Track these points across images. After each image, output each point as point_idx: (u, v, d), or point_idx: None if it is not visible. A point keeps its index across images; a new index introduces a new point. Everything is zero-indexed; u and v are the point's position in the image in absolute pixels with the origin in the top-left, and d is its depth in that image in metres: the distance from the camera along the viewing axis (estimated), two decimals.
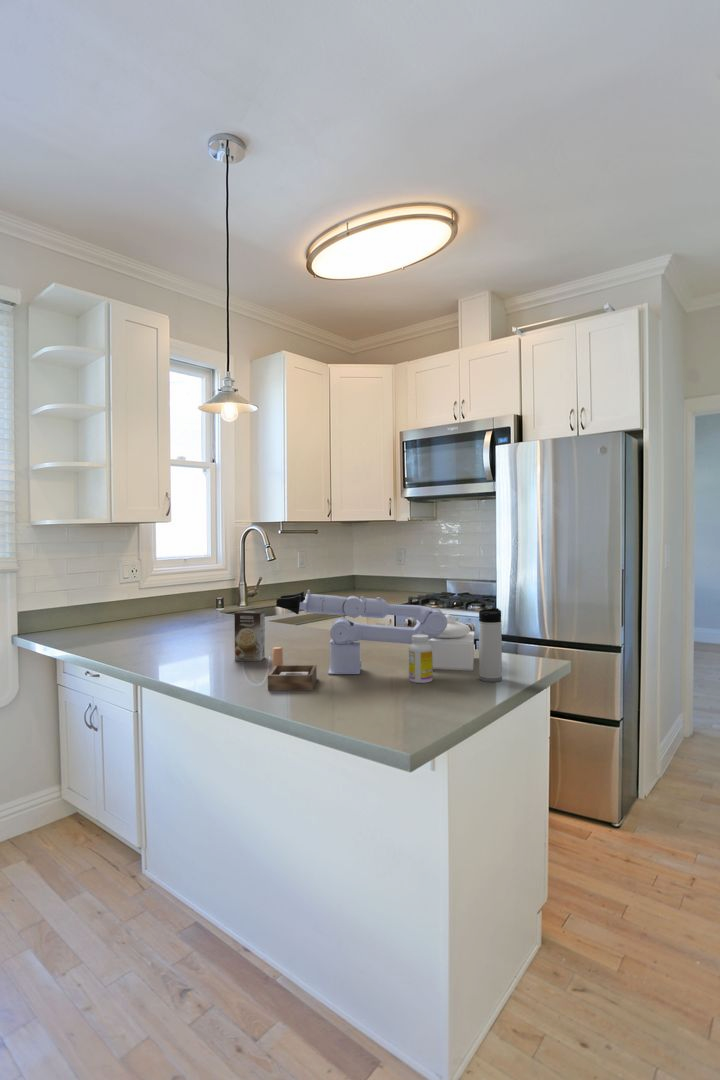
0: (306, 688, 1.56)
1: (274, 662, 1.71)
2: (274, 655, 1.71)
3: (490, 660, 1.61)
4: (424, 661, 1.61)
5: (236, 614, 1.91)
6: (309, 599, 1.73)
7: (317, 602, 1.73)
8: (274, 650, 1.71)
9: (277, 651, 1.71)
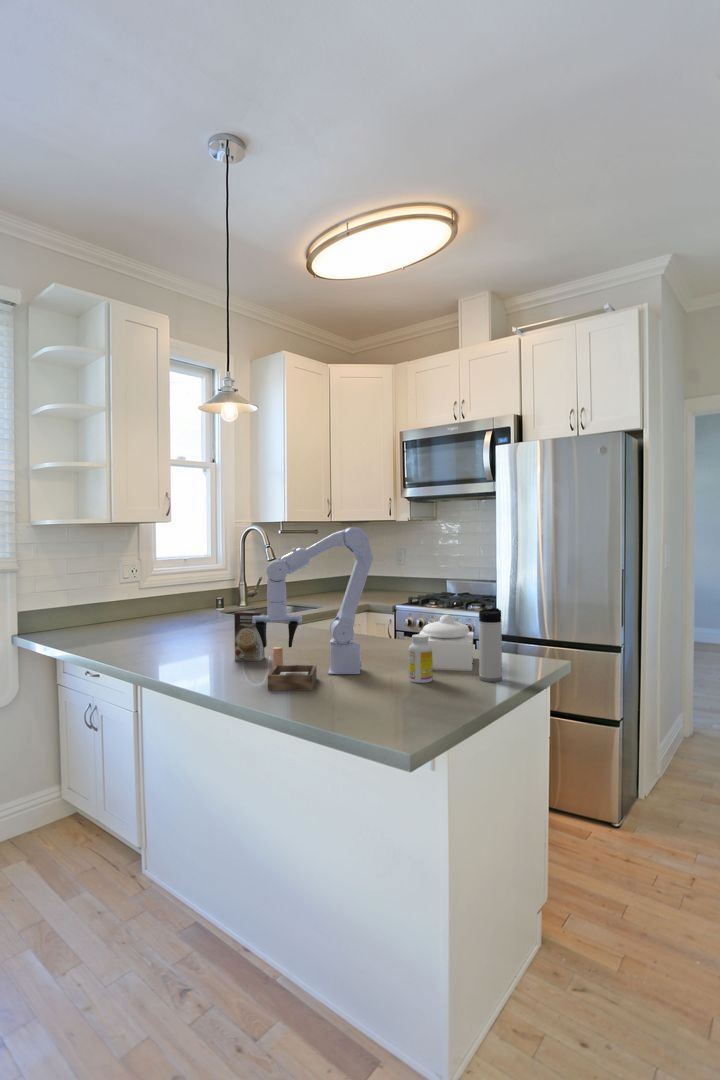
0: (306, 688, 1.56)
1: (274, 662, 1.71)
2: (274, 655, 1.71)
3: (490, 660, 1.61)
4: (424, 661, 1.61)
5: (236, 614, 1.91)
6: (284, 615, 1.71)
7: (285, 606, 1.71)
8: (274, 650, 1.71)
9: (277, 651, 1.71)
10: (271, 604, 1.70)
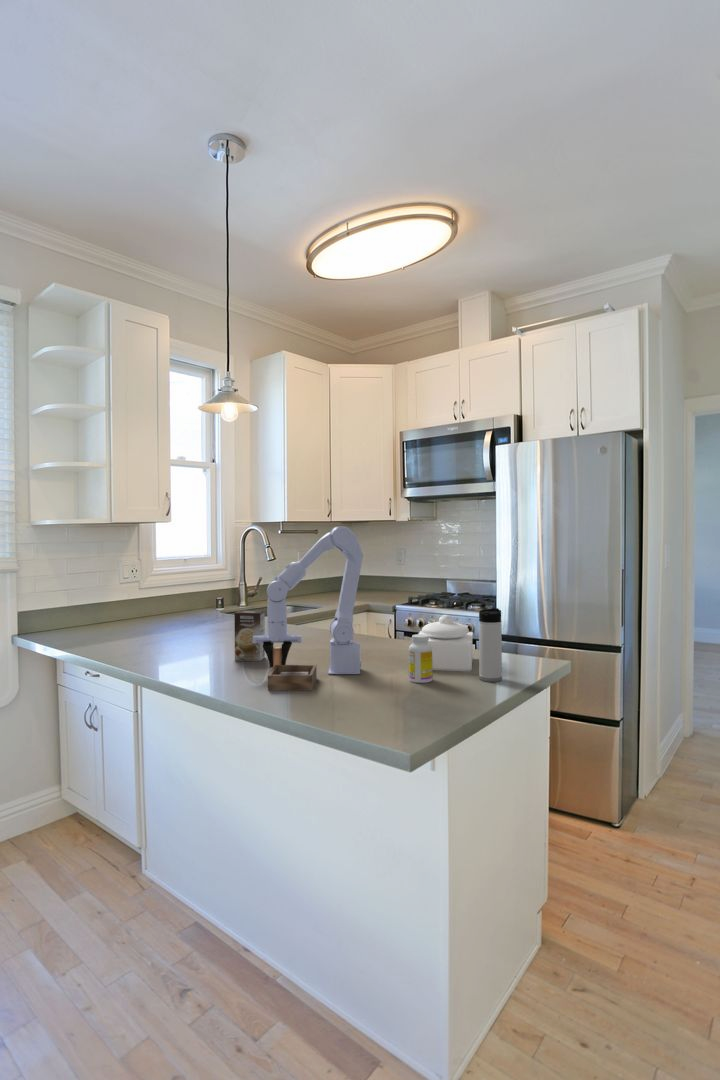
0: (306, 688, 1.56)
1: (274, 662, 1.71)
2: (274, 655, 1.71)
3: (490, 660, 1.61)
4: (424, 661, 1.61)
5: (236, 614, 1.91)
6: (284, 635, 1.71)
7: (286, 626, 1.71)
8: (274, 650, 1.71)
9: (277, 651, 1.71)
10: (271, 624, 1.70)
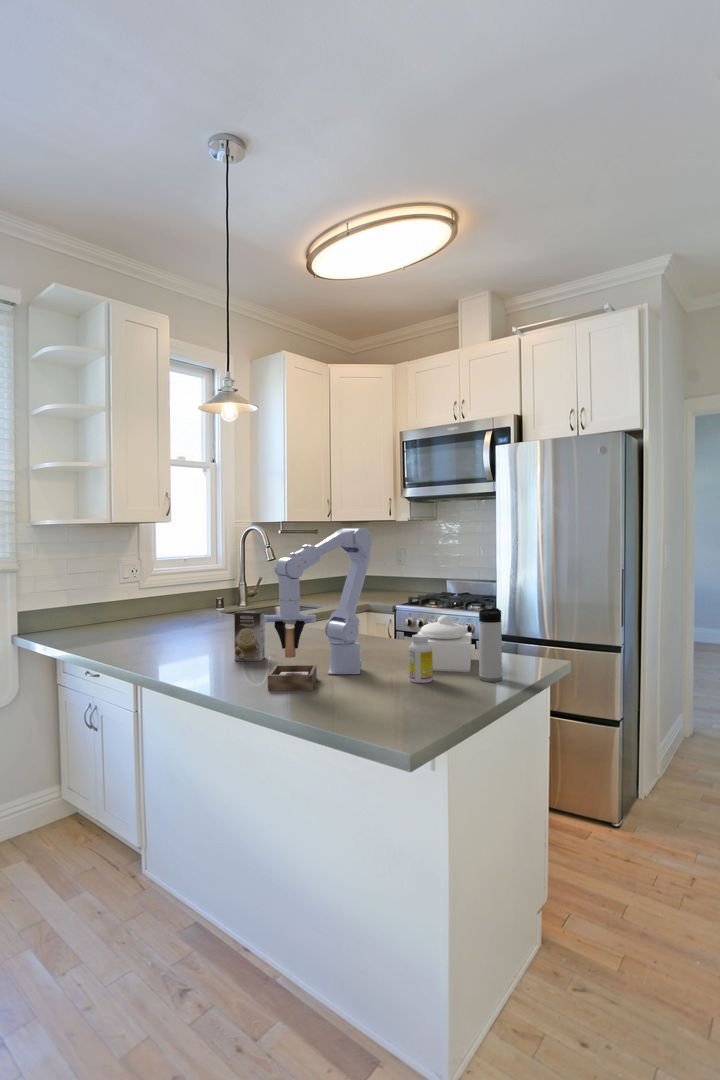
0: (306, 688, 1.56)
1: (286, 643, 1.62)
2: (286, 635, 1.62)
3: (490, 660, 1.61)
4: (424, 661, 1.61)
5: (236, 614, 1.91)
6: (297, 614, 1.61)
7: (298, 605, 1.62)
8: (286, 630, 1.62)
9: (289, 631, 1.62)
10: (283, 603, 1.60)
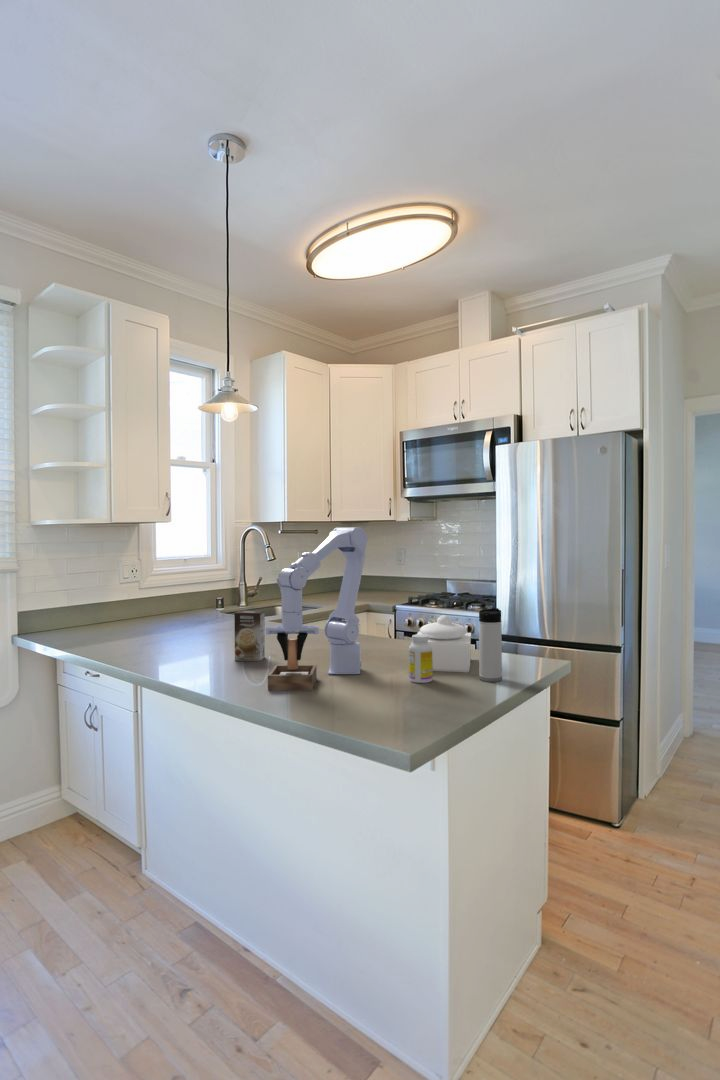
0: (306, 688, 1.56)
1: (289, 654, 1.60)
2: (288, 647, 1.60)
3: (490, 660, 1.61)
4: (424, 661, 1.61)
5: (236, 614, 1.91)
6: (300, 626, 1.60)
7: (301, 616, 1.61)
8: (289, 642, 1.60)
9: (292, 643, 1.60)
10: (286, 614, 1.59)
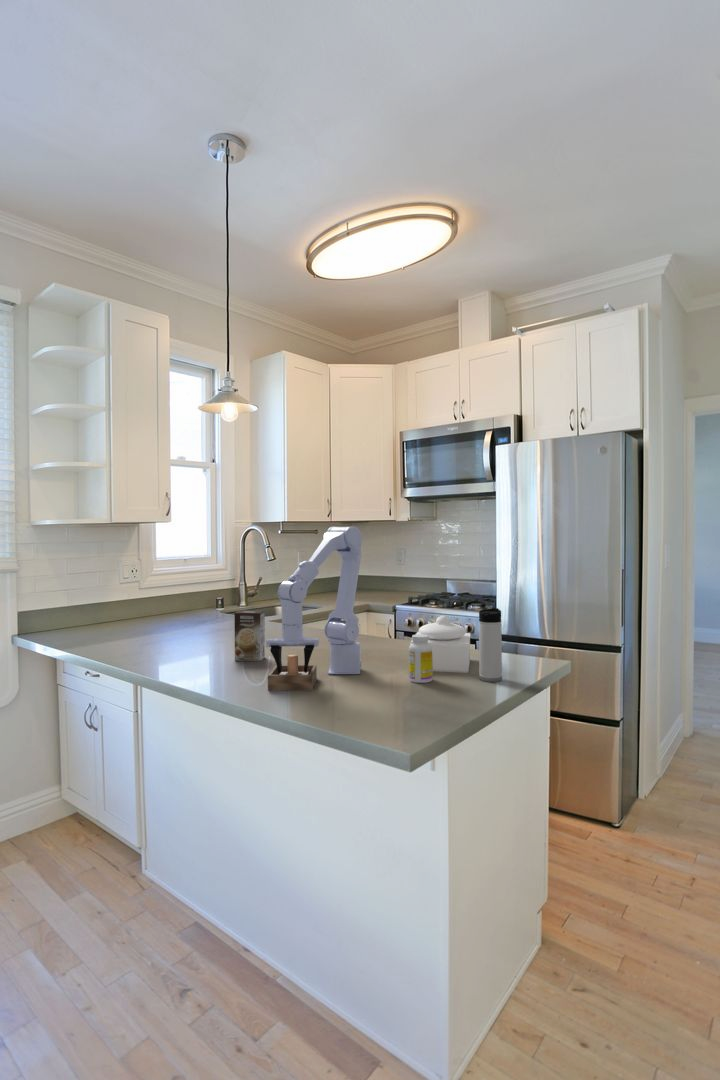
0: (306, 688, 1.56)
1: (289, 671, 1.61)
2: (289, 663, 1.60)
3: (490, 660, 1.61)
4: (424, 661, 1.61)
5: (236, 614, 1.91)
6: (300, 639, 1.60)
7: (301, 629, 1.61)
8: (289, 658, 1.60)
9: (292, 659, 1.60)
10: (286, 627, 1.59)
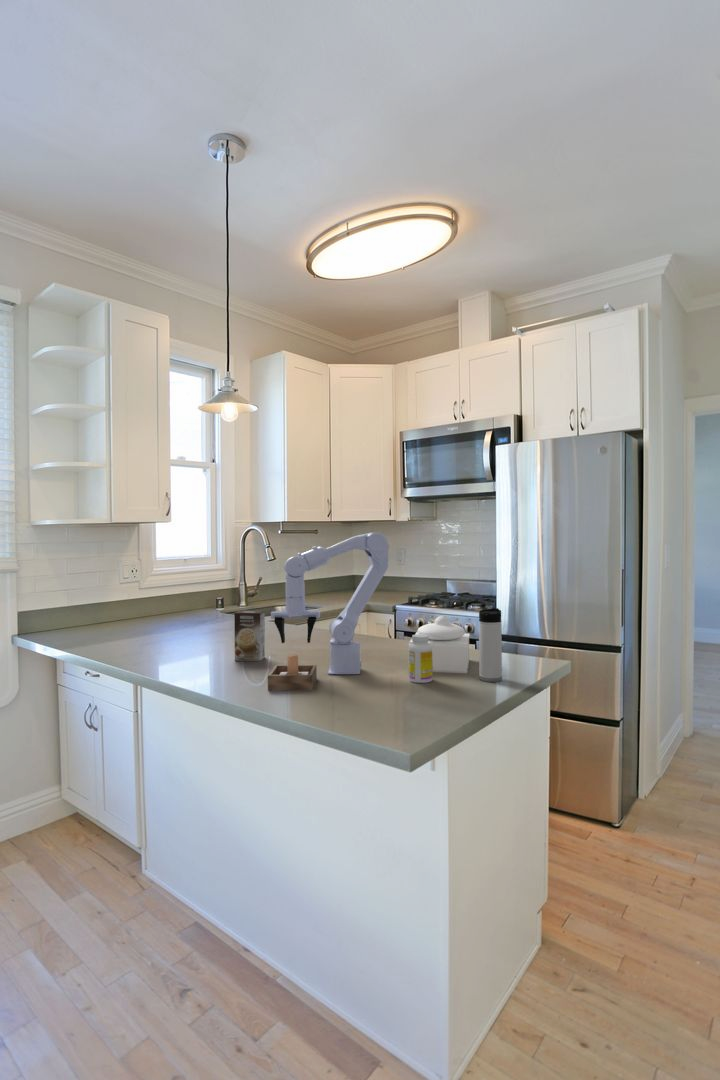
0: (306, 688, 1.56)
1: (289, 671, 1.61)
2: (289, 663, 1.60)
3: (490, 660, 1.61)
4: (424, 661, 1.61)
5: (236, 614, 1.91)
6: (303, 611, 1.71)
7: (304, 602, 1.72)
8: (289, 658, 1.60)
9: (292, 659, 1.60)
10: (290, 600, 1.70)
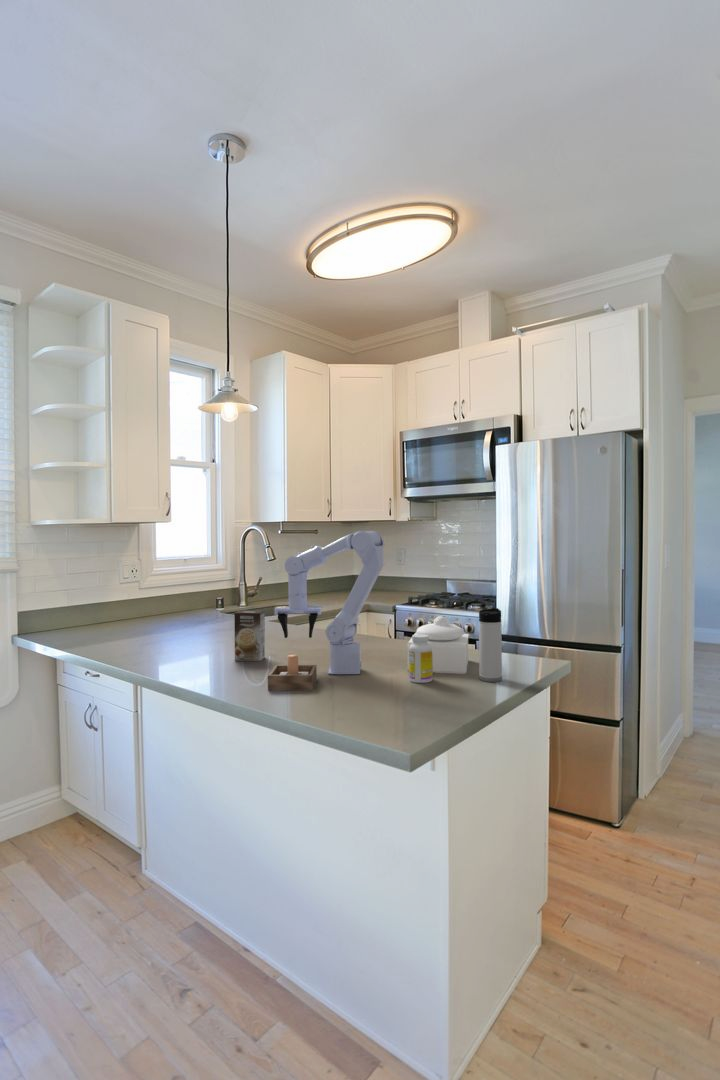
0: (306, 688, 1.56)
1: (289, 671, 1.61)
2: (289, 663, 1.60)
3: (490, 660, 1.61)
4: (424, 661, 1.61)
5: (236, 614, 1.91)
6: (305, 607, 1.80)
7: (306, 599, 1.81)
8: (289, 658, 1.60)
9: (292, 659, 1.60)
10: (292, 597, 1.79)
